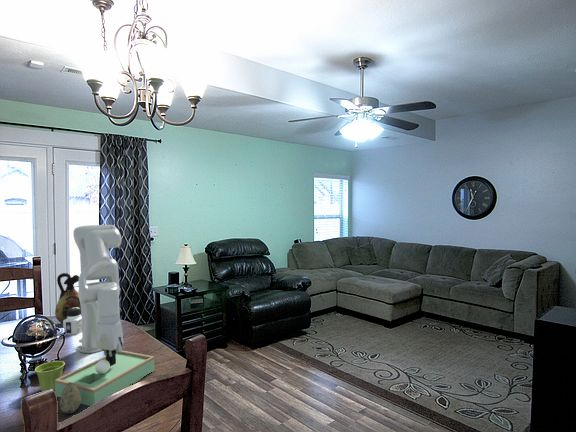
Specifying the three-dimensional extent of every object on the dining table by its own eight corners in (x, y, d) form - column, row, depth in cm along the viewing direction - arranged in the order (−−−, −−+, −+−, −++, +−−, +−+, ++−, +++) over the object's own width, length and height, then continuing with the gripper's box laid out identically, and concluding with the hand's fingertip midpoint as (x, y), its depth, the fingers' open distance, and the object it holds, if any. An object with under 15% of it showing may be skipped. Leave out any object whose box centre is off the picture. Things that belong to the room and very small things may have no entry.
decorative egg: (72, 418, 116) (70, 388, 115) (55, 417, 117) (54, 387, 116) (85, 408, 121) (84, 379, 121) (70, 406, 123) (68, 378, 122)
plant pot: (45, 383, 139) (44, 361, 139) (70, 381, 140) (69, 360, 140) (30, 396, 130) (28, 372, 130) (57, 394, 131) (56, 371, 130)
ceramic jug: (89, 318, 218) (86, 269, 217) (83, 326, 204) (81, 274, 202) (56, 321, 213) (54, 271, 212) (48, 330, 198) (46, 276, 197)
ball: (103, 363, 140) (96, 375, 136) (98, 356, 137) (89, 368, 133) (114, 365, 138) (107, 377, 135) (109, 357, 135) (101, 370, 132)
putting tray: (55, 396, 129) (54, 379, 129) (119, 363, 155) (118, 349, 155) (94, 407, 122) (94, 390, 121) (154, 370, 148) (154, 356, 147)
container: (77, 334, 191) (76, 310, 191) (63, 334, 191) (62, 310, 191) (85, 329, 199) (84, 306, 198) (72, 329, 199) (71, 306, 198)
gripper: (86, 319, 138) (88, 366, 139) (115, 323, 133) (117, 372, 133) (103, 313, 145) (105, 358, 146) (131, 317, 139) (133, 363, 140)
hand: (111, 364), depth 140 cm, fingers closed
